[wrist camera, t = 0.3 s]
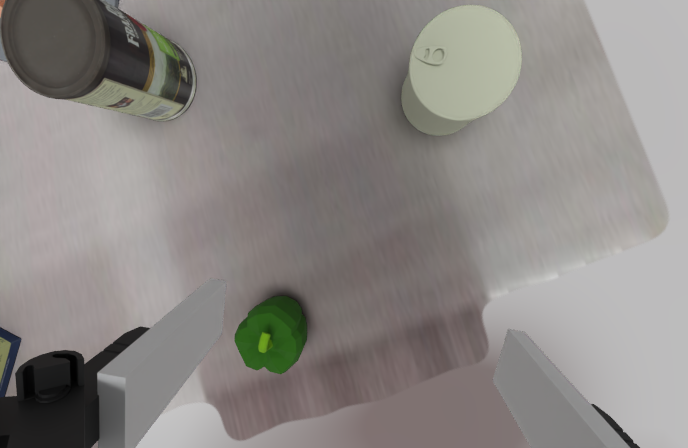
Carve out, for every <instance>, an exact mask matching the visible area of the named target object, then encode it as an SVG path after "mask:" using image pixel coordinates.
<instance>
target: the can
mask: <svg viewBox="0 0 688 448" xmlns="http://www.w3.org/2000/svg"><path fill="white" fill-rule="evenodd" d="M521 64H522V51H521V45H520V41H519V38H518V36H517V33H516V31H515V30H514V28H513V26H512V25H511V24H510V23H509V21H508V20H507V19H506V18H505V17H503V16H502V15H501V14H500V13H498V12H496V11H494V10H492V9H490V8H487V7H484V6H479V5H463V6H458V7H454V8H451V9H448V10H446V11H444V12H442V13H441V14H439V15H437V16H436V17H435V18H433V19H432V20H431V21H430V22H429V23H428V24H427V25H426V26H425V27H424V28H423V30H422V31H421V32H420V34H419V35H418V37H417V39H416V41H415V43H414V45H413V48H412V51H411V55H410V60H409V69H408V74H407V77H406V79H405V81H404V84H403V87H402V93H401V102H402V108H403V111H404V113H405V116H406V117H407V119H408V120H409V122H410V123H411V124H412V125H413V126H414V127H415V128H416V129H418V130H419V131H421V132H423V133H426V134H429V135H434V136H443V135H449V134H452V133H455V132H457V131H459V130H461V129H462V128H463V127H465V126H466V125H467V124H468V123H469V122H471V121H473V120H475V119H477V118H480V117H482V116H484V115H486V114H488V113H490V112H492V111H493V110H495V109H496V108H497V107H499V106H500V105H501V104H502V103H503V102H504V101H505V100H506V98H507V97H508V96H509V95H510V93H511V92H512V90H513V88H514V87H515V85H516V82H517V80H518V77H519V74H520V70H521Z"/></svg>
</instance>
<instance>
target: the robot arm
mask: <svg viewBox="0 0 688 448" xmlns="http://www.w3.org/2000/svg"><path fill="white" fill-rule="evenodd" d="M225 293H226V281H224V280H219V279H213V278H210V279H209V280H207V281H206V282H205V283H204V284H203V285H201V286H200V287H199V288H198V289H197V290H195V291H194V292H193V293H192V294H191V295H190V296H188V297H187V298H186V299H185V300H184V301H182V302H181V303H180V304H179V305H178V306H176V307H175V308H174V309H173V310H172V311H170V312H169V313H168V314H167V315H166V316H164V317H163V318H162V319H161V320H160V321H159V322H157V323H156V324H155V325H154V326H153V327H151V328H146V327H138V328H136V329H134V330H131V331H129V332H127V333H125V334H123V335H122V336H121V337H119V338H118V339H117V340H116V341H114V342H113V344H110V345H109V346H108V347H106V348H105V349H104V351H101V352H100V353H99V354H97V355H96V356H95V357H93V358H92V359H91V360H90V361H88V362H87V363H86V364H84V358H83V356H82V354H80V353H78V352H76V351H68V350H63V351H53V352H50V353H46V354H42V355H39V356H37V357H35V358H33V359H30V360H28V361H27V362H26V363H24V364H23V365H22V366H20V367H19V369H18V370H17V372H16V373H15V375H16V388H17V396H12V397H0V448H91V447H92V446H93V445H94V444H95V443H96V442H97V441H98V448H135V447H136V446H137V444H138V443H139V442H140V441H141V439H142V438H143V437H144V435H145V434H146V433H147V431H148V430H149V429H150V427H151V426H152V425H153V423H154V422H155V421H156V420H157V418H158V417H159V416H160V414H161V413H162V412H163V410H164V409H165V408H166V407H167V405H168V404H169V403H170V401H171V400H172V399H173V397H174V396H175V395H176V393H177V392H178V391H179V389H180V388H181V387H182V386H183V384H184V383H185V382H186V380H187V379H188V378H189V376H190V375H191V374H192V372H193V371H194V370H195V369H196V367H197V366H198V365H199V363H200V362H201V361H202V359H203V358H204V357H205V355H206V354H207V353H208V351H209V350H210V349H211V348H212V346H213V345H214V344H215V342H216V341H217V340H218V338H219V337H220V336H221V334H222V328H223V316H224V305H225ZM493 382H494V384H495V386H496V388H497V389H498V391H499V393H500V394H501V396H502V398H503V400H504V401H505V403H506V405H507V407H508V408H509V410H510V412H511V414H512V415H513V417H514V419H515V421H516V422H517V424H518V426H519V428H520V429H521V431H522V433H523V434H524V436H525V438H526V440H527V441H528V443H529V445H530V447H531V448H640V447H639V446H638V445H637V444H634V443H633V440H632V439H631V438H630V437H629V436H628V435H627V434H626V433H625V432H623V430H622V428H621V427H620V426H619V425H618V424H617V423H616V422H615V421H614V420H613V419H612V418H611V417H610V416H609V415H608V414H606V413H605V412H604V411H602V410H601V409H599V408H598V407H597V406H596V405H594V404H590V403H589V402H588V401H587V400H586V399H585V398H584V397H583V395H582V394H581V393H580V392H579V391H578V390H577V389H576V388H575V386H574V385H573V384H572V383H571V382H570V381H569V380H568V379H567V378H566V377H565V375H563V373H562V372H561V371H560V370H559V369H558V368H557V367H556V366H555V365H554V363H553V362H552V361H551V360H550V359H549V358H548V357H547V356H546V355H545V354H544V352H543V351H542V350H541V349H540V348H539V347H538V346H537V345H536V344H535V343H534V341H533V340H532V339H531V338H530V337H529V336H528V335H527V334H526V333H525V332H523V331H516V330H511V329H508V331H507V334H506V338H505V341H504V344H503V348H502V351H501V354H500V357H499V361H498V364H497V367H496V371H495V374H494V377H493Z"/></svg>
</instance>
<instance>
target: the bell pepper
mask: <svg viewBox="0 0 688 448" xmlns="http://www.w3.org/2000/svg"><path fill="white" fill-rule="evenodd" d="M301 313H302V309H301V307H300V306H299V304H298V303H297V301H295V300H293V299H291V298H289V297H287V296H276V297H272V298H270V299H268V300H266V301H264V302H262V303H260V304H259V305H257V306H255V307H254V308H253V309H252V310H251V311H250V312H249V313H248V317H247V318H246V319H245V320H244V321H243V322H242V323H241V324H240V325H239V327H238V329H237V331H236V333H235V343H236V345H237V347H238V350H239V352H240V354H241V356H242V358H243V360H244V362H245V364H246V366H247V367H250V368H252V369H255V370H259V369H261V368H262V367H266V368H267V369H268V370H269V371H270V372H274V373H278V374H282V373H284V372H286V371H287V370H288V369H289V368H290V367H291V366H292V365H293V364H295V363H296V362H297V361H298V359H299V357H300V354H301V352H302V350H303V348H304V345H305V343H306V340H307V324H306V319H305V317H304V315H302V314H301Z"/></svg>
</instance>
